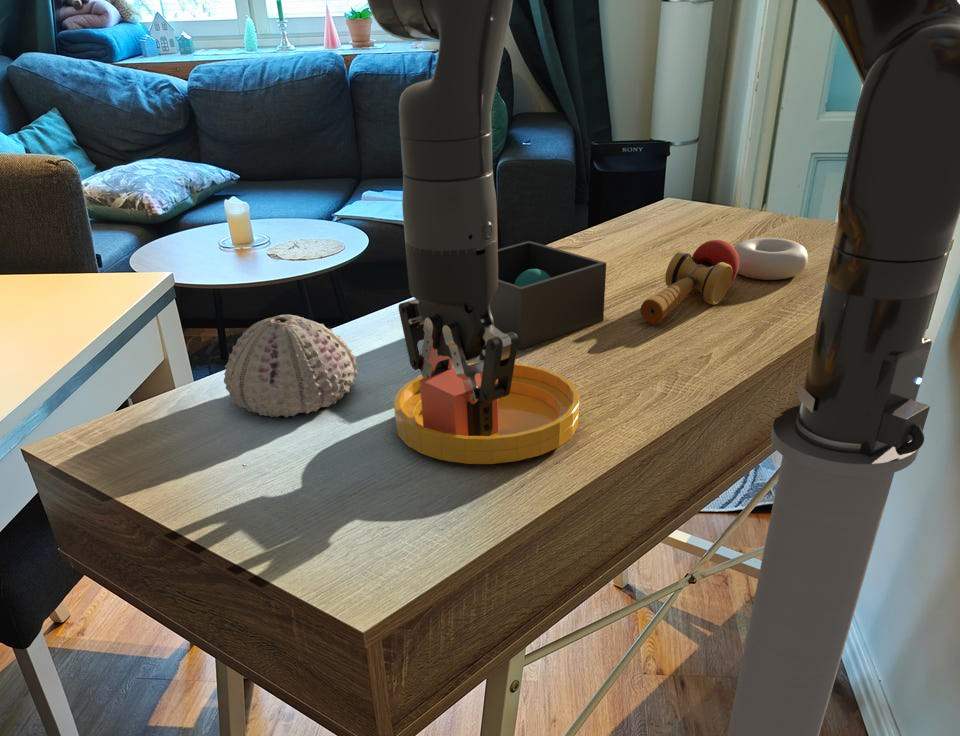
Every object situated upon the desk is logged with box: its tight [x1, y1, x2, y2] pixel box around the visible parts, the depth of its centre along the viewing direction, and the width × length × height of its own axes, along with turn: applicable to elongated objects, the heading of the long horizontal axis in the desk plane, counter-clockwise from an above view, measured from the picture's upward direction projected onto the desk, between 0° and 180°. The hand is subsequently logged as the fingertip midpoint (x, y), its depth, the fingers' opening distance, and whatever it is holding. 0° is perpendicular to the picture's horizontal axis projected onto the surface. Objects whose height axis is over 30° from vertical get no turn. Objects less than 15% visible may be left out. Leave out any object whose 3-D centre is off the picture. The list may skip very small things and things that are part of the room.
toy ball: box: [514, 269, 551, 287], centre depth 106 cm, size 5×5×5 cm
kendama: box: [640, 239, 739, 326], centre depth 108 cm, size 8×6×18 cm
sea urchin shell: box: [223, 314, 359, 418], centre depth 89 cm, size 13×14×8 cm
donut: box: [733, 237, 809, 281], centre depth 117 cm, size 10×4×10 cm
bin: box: [490, 240, 607, 350], centre depth 105 cm, size 13×13×7 cm
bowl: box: [393, 362, 580, 465], centre depth 84 cm, size 17×17×3 cm
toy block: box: [420, 368, 498, 436], centre depth 81 cm, size 5×5×5 cm
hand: (460, 427), depth 83 cm, fingers closed on toy block, 5 cm apart
